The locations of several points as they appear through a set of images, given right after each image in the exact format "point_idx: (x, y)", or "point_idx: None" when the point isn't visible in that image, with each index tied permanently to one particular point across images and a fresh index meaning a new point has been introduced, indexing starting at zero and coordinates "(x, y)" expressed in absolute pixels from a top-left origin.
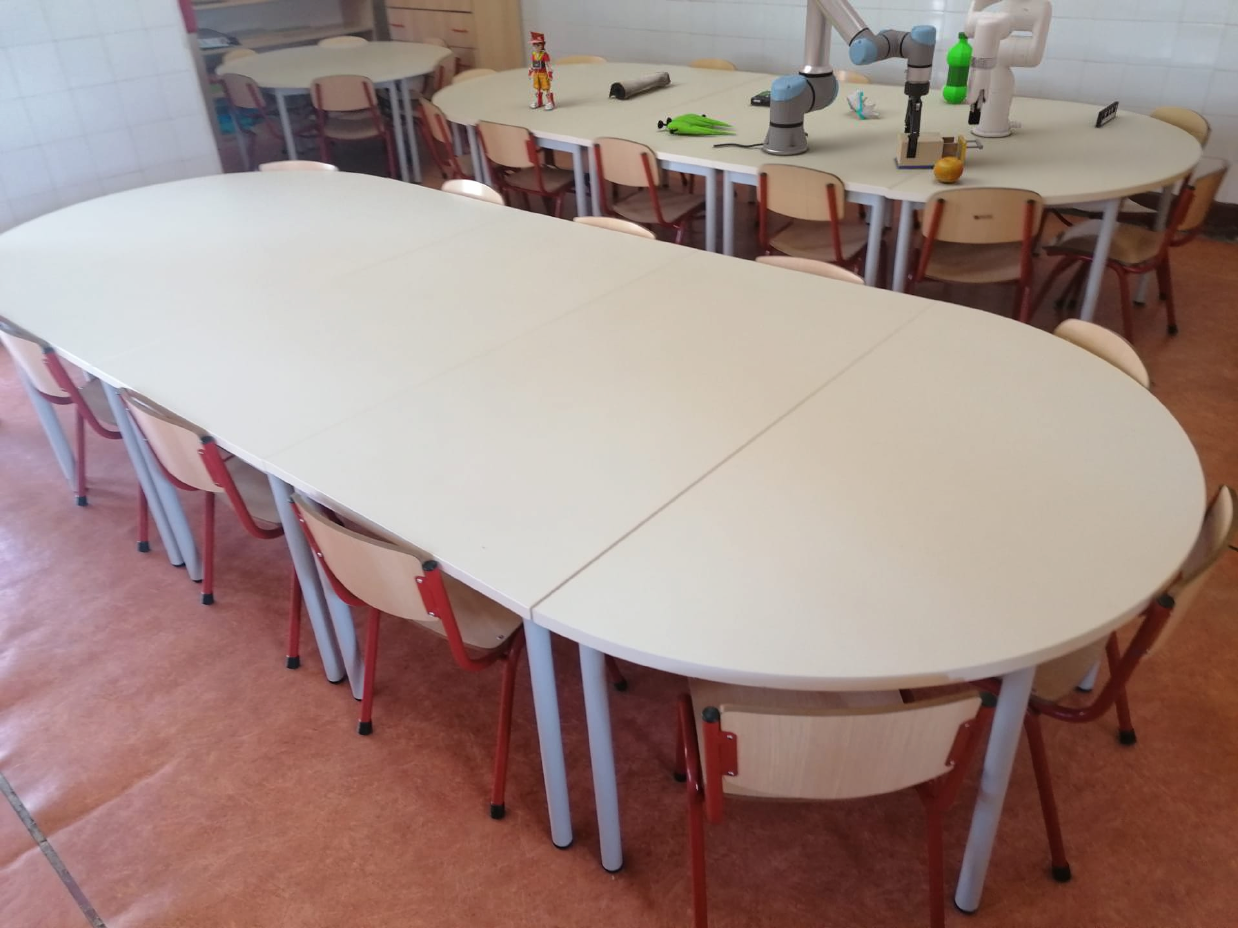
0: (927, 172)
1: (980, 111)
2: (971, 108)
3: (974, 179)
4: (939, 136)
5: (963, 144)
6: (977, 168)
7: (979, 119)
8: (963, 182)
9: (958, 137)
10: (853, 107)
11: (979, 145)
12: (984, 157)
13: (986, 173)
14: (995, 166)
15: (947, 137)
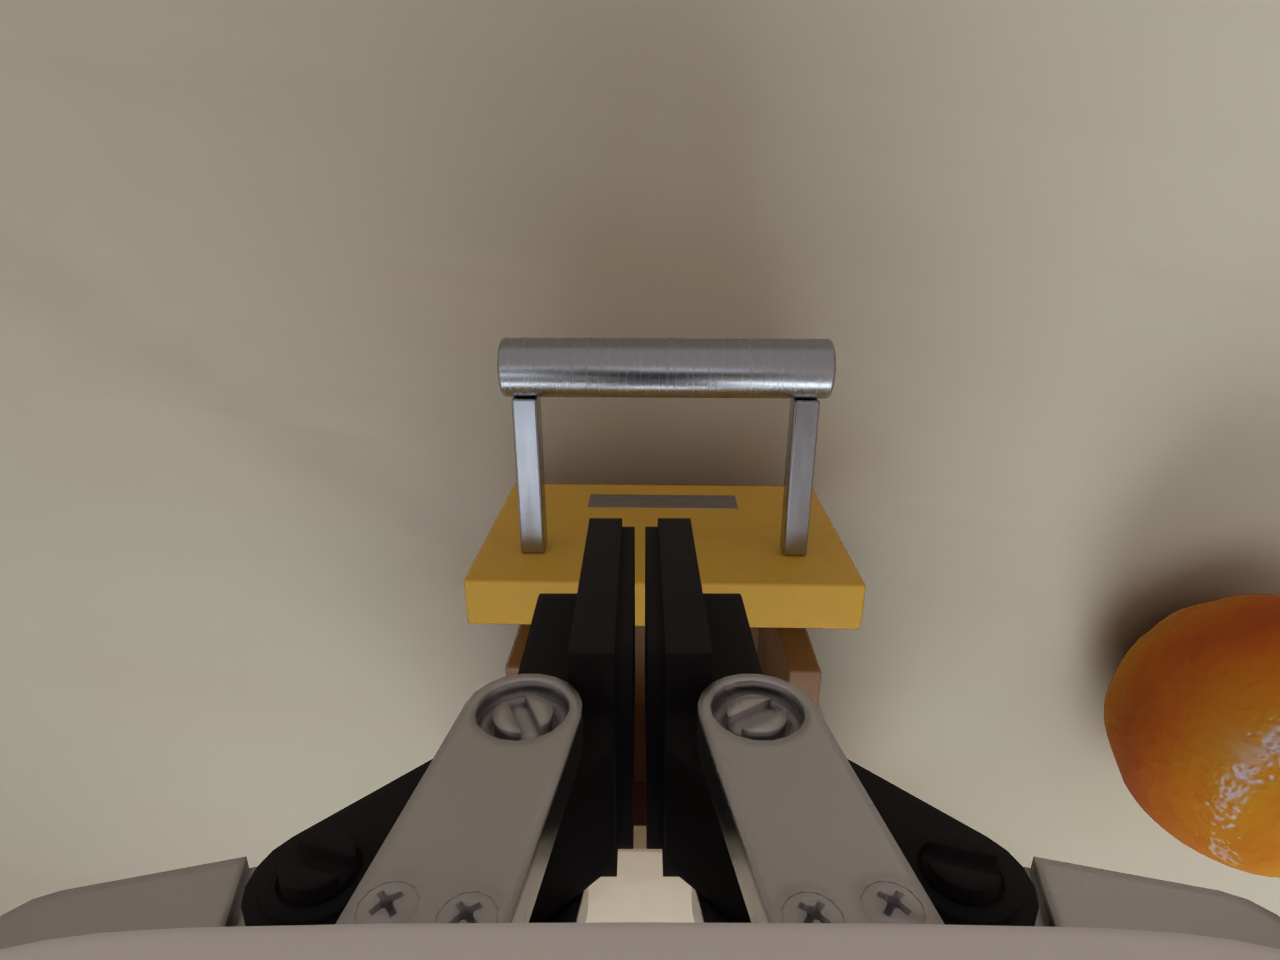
0: (903, 760)
1: (799, 708)
2: (581, 905)
3: (1185, 434)
4: (655, 870)
5: (858, 615)
6: (843, 345)
7: (691, 565)
8: (1244, 540)
9: (507, 614)
10: None
11: (805, 395)
12: (452, 200)
13: (1023, 285)
14: (793, 139)
15: None
